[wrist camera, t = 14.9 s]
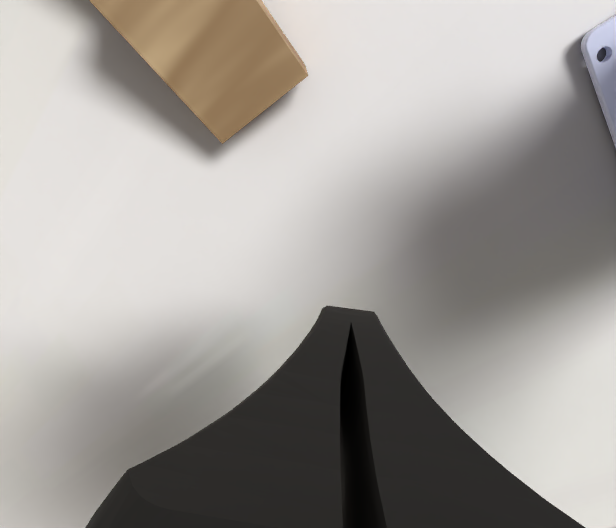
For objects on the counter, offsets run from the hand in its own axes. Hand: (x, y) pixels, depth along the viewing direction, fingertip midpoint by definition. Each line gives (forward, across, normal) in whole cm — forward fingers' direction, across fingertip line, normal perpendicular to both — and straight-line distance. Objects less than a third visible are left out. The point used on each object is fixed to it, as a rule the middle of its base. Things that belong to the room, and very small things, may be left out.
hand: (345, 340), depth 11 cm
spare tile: (+9, +4, -5) cm, 11 cm away
